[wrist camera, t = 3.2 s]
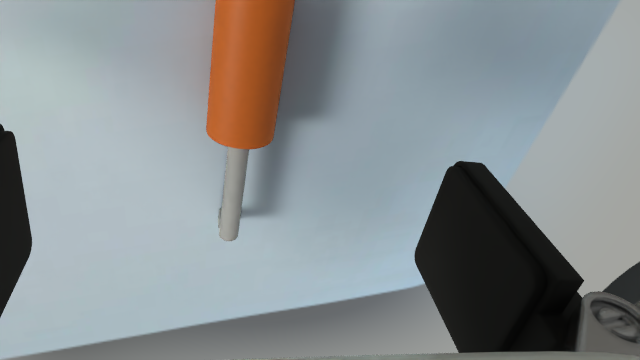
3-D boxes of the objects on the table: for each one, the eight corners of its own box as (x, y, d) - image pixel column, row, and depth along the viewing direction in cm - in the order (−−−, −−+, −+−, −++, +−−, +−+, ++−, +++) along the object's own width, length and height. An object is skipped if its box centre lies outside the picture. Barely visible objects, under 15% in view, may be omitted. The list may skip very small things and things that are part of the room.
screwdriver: (291, -18, 18) (301, -1, 16) (256, 219, 24) (259, 256, 22) (218, -31, 18) (216, -15, 15) (199, 216, 24) (196, 254, 21)
